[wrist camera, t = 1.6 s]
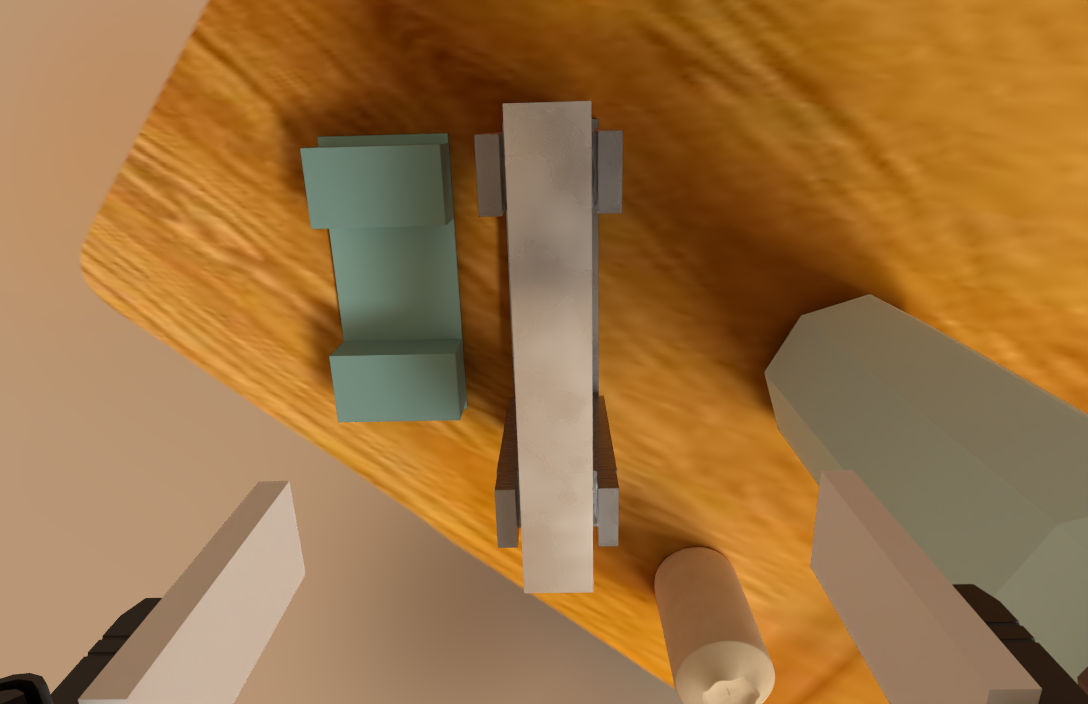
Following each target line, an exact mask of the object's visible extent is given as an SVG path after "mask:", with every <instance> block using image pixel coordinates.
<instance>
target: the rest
mask: <svg viewBox="0 0 1088 704" xmlns="http://www.w3.org/2000/svg"><path fill="white" fill-rule="evenodd" d="M317 140H318V147H309V148H300V152H301V159H302V166H303V173H304V180H305V187H306V195H307V202H308V209H309V216H310V223H311V229H329V232H330V240H331V247H332V255H333V262H334V270H335V278H336V285H337V293H338V301H339V308H340V316H341V324H342V331H343V339H344V342H343V343H342V344H341V345H340V346H339V347H338V348H337V349H336V350H335V351H334V352H333V353H332V354H331V355H330V356H329V359H330V366H331V374H332V381H333V388H334V395H335V402H336V409H337V417H338V422H378V421H434V420H460V419H461V416H462V413H463V410H464V409H467V396H466V381H465V367H464V353H463V338H462V324H461V310H460V296H459V281H458V267H457V253H456V238H455V224H454V210H453V196H452V181H451V167H450V153H449V138H448V133H436V134H401V135H366V136H330V137H317Z"/></svg>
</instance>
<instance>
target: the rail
mask: <svg viewBox="0 0 1088 704" xmlns="http://www.w3.org/2000/svg"><path fill="white" fill-rule="evenodd" d="M503 123H504V146H505V169H506V191H507V214H508V237H509V259H510V282H511V305H512V327H513V350H514V373H515V395H516V418H517V441H518V463H519V486H520V508H521V531H522V554H523V576H524V593H578V592H593V408H592V128H591V101H569V102H535V103H503Z"/></svg>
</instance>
